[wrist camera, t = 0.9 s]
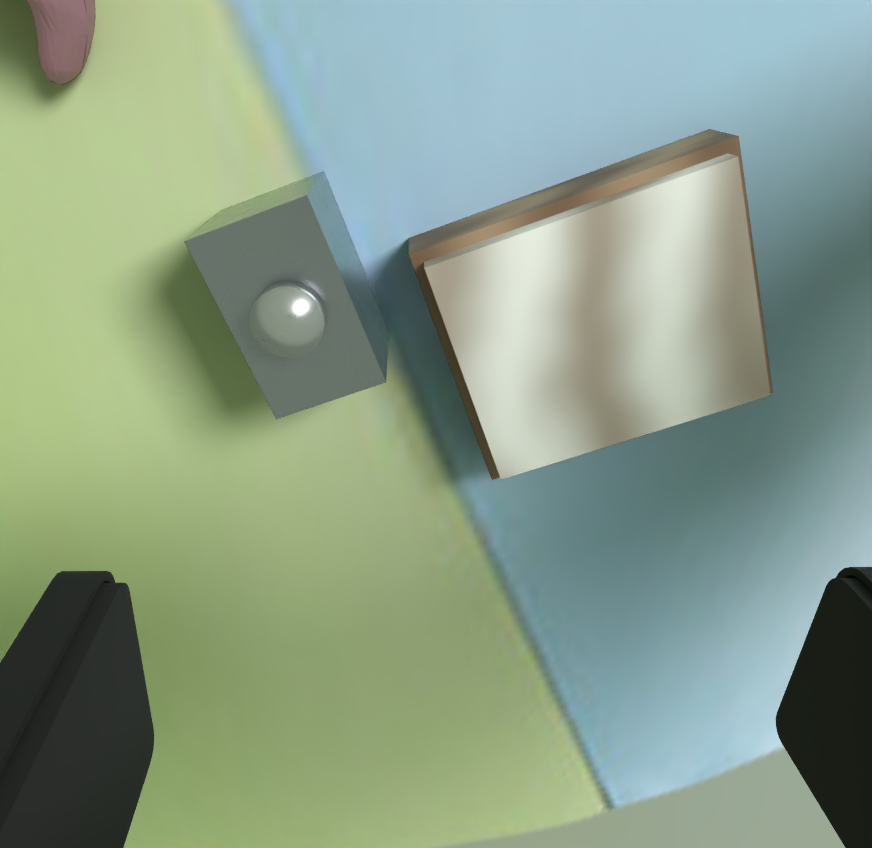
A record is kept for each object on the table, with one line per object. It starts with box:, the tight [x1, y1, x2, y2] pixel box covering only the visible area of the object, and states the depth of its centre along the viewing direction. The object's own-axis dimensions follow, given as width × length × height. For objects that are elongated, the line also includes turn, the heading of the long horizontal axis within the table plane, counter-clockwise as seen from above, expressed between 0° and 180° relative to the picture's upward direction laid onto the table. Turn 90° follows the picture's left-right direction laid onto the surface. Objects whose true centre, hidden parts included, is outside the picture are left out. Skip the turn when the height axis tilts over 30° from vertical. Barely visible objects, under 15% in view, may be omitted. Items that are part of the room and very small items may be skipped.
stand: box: [409, 129, 773, 480], centre depth 32 cm, size 14×12×4 cm
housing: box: [184, 171, 389, 419], centre depth 30 cm, size 5×8×7 cm, turn 19°
